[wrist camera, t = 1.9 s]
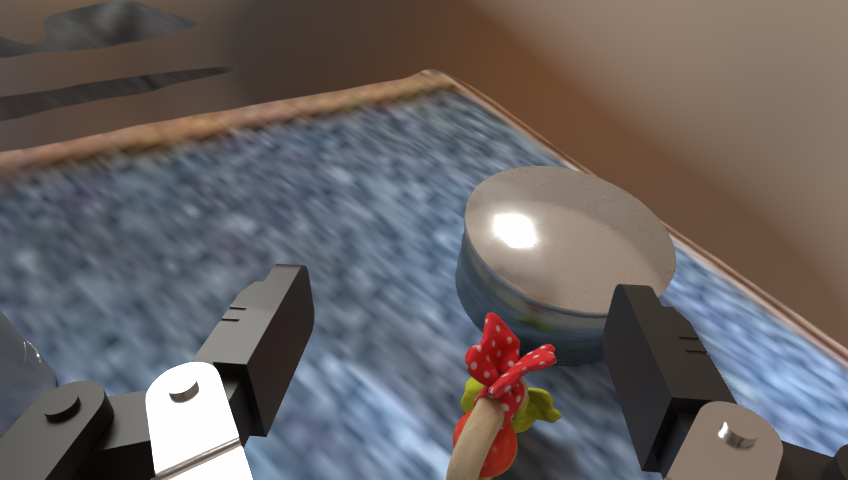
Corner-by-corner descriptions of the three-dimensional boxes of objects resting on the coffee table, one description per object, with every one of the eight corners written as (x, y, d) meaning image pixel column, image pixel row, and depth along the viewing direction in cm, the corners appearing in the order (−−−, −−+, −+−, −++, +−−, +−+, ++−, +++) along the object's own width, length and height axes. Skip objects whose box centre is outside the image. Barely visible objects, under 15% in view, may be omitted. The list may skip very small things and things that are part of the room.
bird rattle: (515, 525, 28) (571, 387, 31) (531, 560, 18) (611, 352, 21) (425, 469, 30) (486, 344, 33) (394, 474, 20) (485, 294, 23)
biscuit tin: (616, 406, 32) (661, 350, 27) (420, 311, 37) (429, 249, 32) (649, 266, 42) (685, 208, 38) (492, 205, 47) (507, 146, 42)
